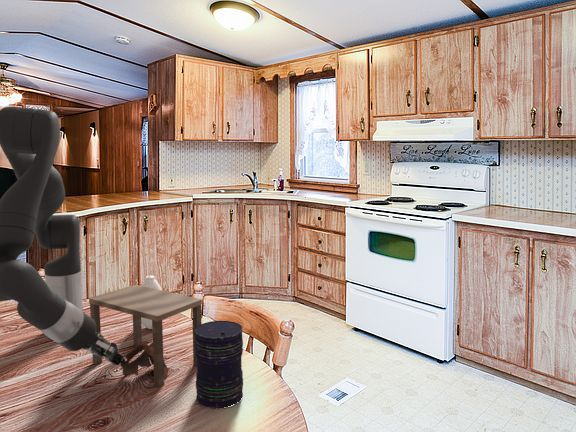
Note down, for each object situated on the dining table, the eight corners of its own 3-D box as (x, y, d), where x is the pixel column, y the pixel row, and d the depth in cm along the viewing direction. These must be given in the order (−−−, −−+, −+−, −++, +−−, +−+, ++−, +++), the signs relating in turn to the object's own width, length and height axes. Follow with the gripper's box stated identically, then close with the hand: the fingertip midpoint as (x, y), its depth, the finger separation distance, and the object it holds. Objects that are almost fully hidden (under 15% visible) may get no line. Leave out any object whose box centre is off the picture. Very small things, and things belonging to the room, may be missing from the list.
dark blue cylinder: (191, 390, 105) (190, 324, 103) (235, 382, 109) (234, 318, 107) (202, 413, 96) (200, 341, 94) (249, 403, 100) (249, 333, 98)
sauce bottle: (171, 326, 143) (169, 266, 140) (150, 335, 136) (148, 272, 134) (152, 321, 147) (150, 262, 144) (131, 329, 140) (129, 268, 138)
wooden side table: (92, 362, 118) (88, 298, 116) (137, 343, 130) (135, 284, 128) (159, 387, 106) (157, 316, 104) (203, 364, 118) (201, 299, 116)
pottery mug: (164, 388, 107) (143, 360, 105) (130, 401, 110) (108, 374, 107) (180, 353, 118) (161, 327, 116) (149, 365, 121) (130, 340, 118)
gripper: (98, 314, 97) (147, 352, 109) (58, 303, 104) (109, 339, 116) (75, 348, 93) (129, 384, 105) (36, 334, 100) (90, 369, 112)
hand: (118, 360), depth 111 cm, fingers closed
